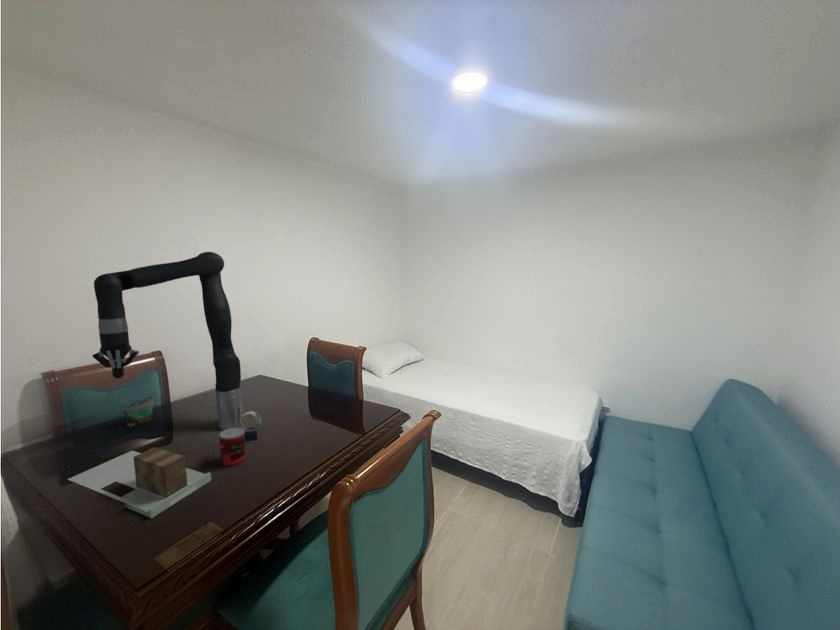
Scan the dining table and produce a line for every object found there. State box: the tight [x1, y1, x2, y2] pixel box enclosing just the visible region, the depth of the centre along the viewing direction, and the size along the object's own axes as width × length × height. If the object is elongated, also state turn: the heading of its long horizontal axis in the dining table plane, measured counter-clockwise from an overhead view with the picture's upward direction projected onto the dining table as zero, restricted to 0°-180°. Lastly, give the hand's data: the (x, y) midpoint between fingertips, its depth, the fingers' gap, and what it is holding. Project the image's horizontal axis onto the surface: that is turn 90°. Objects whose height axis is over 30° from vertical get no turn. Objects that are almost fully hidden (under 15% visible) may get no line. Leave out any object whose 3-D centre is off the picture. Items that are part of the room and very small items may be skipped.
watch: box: [240, 410, 262, 443], centre depth 135 cm, size 6×8×11 cm
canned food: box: [218, 427, 247, 467], centre depth 119 cm, size 8×8×11 cm
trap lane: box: [67, 450, 212, 519], centre depth 107 cm, size 40×18×2 cm, turn 70°
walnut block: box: [133, 446, 187, 498], centre depth 102 cm, size 14×6×10 cm, turn 70°
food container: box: [121, 395, 155, 427], centre depth 146 cm, size 12×6×10 cm, turn 168°
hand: (119, 377), depth 120 cm, fingers closed
